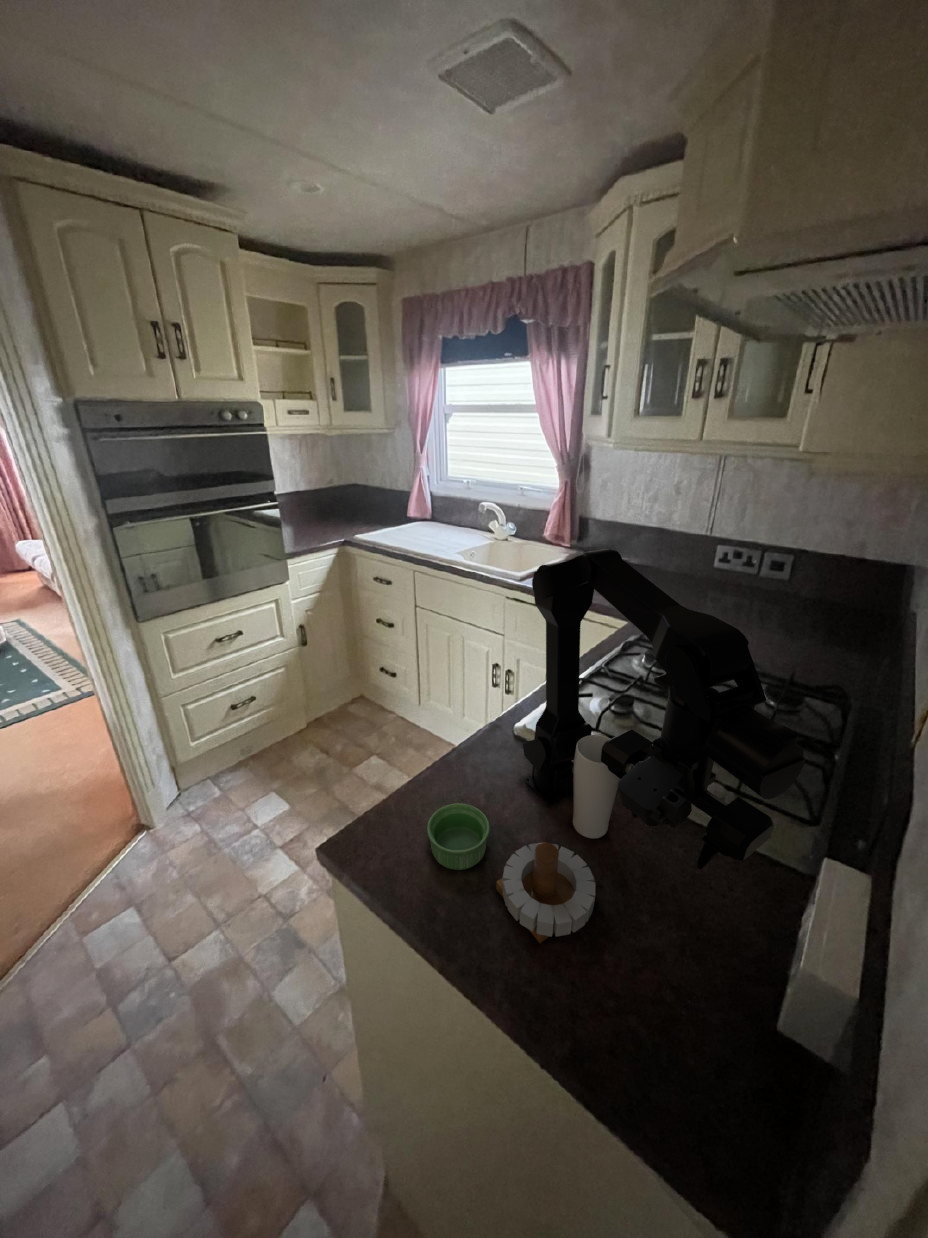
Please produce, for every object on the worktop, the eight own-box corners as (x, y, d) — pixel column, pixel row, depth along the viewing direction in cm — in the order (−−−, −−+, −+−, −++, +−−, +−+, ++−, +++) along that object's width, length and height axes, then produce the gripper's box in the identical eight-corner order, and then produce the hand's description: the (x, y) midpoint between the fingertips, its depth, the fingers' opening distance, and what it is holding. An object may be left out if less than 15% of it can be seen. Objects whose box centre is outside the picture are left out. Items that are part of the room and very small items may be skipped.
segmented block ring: (485, 880, 69) (485, 868, 68) (551, 842, 75) (552, 830, 74) (542, 955, 60) (543, 942, 59) (613, 905, 66) (615, 892, 65)
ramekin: (422, 831, 79) (421, 810, 77) (478, 819, 81) (478, 797, 79) (435, 881, 71) (434, 858, 69) (497, 865, 73) (498, 843, 71)
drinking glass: (605, 809, 82) (616, 733, 76) (618, 843, 76) (631, 764, 70) (563, 810, 82) (570, 734, 76) (573, 845, 76) (581, 765, 70)
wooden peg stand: (495, 889, 70) (497, 843, 66) (545, 858, 74) (549, 814, 71) (539, 943, 63) (543, 896, 59) (591, 905, 67) (598, 859, 64)
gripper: (574, 718, 59) (564, 819, 65) (728, 823, 45) (695, 939, 51) (638, 688, 64) (623, 784, 71) (793, 773, 50) (756, 884, 57)
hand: (666, 840), depth 62 cm, fingers open, 9 cm apart
